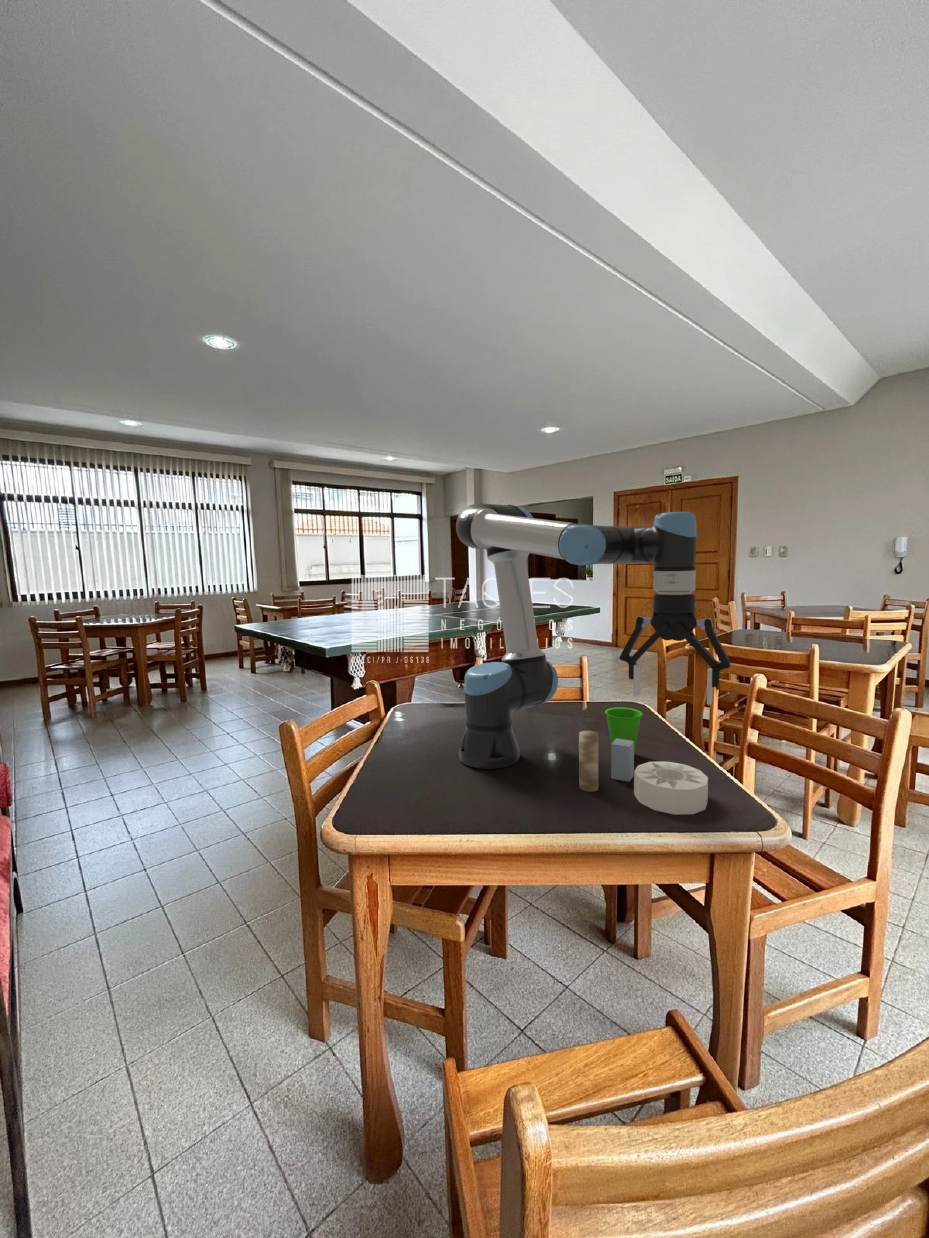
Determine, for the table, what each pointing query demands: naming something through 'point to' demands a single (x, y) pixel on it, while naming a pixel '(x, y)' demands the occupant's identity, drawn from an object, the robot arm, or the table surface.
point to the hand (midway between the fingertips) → (671, 699)
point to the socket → (671, 787)
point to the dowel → (588, 761)
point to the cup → (623, 723)
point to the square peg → (622, 759)
